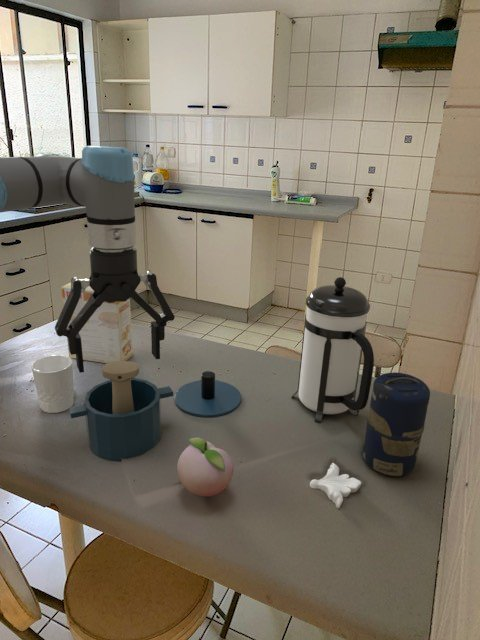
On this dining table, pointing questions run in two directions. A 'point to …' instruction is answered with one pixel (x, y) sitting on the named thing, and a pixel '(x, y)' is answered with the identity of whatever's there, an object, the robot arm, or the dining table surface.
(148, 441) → the pot
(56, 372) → the white cup
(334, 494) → the acanthus leaf ornament
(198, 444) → the decorative fruit
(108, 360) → the coffeecake box
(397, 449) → the canister
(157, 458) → the dining table surface
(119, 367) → the handle
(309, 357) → the coffee press
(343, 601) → the dining table surface
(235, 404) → the lid
